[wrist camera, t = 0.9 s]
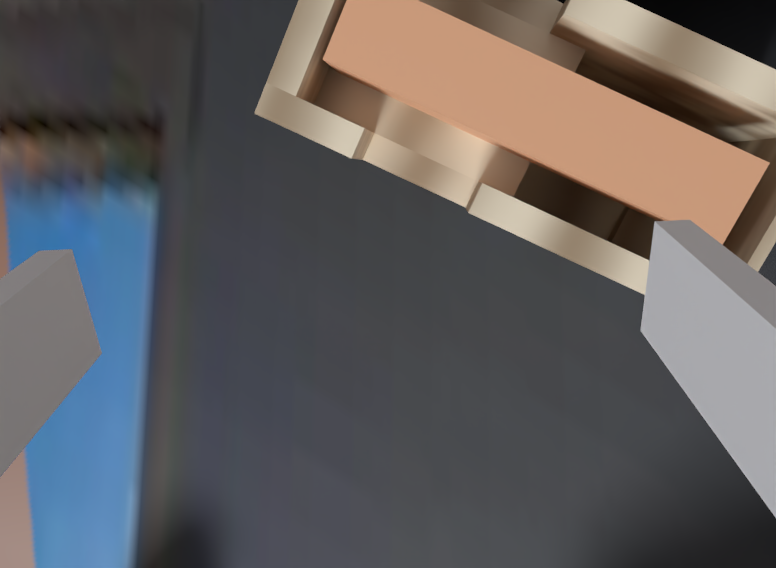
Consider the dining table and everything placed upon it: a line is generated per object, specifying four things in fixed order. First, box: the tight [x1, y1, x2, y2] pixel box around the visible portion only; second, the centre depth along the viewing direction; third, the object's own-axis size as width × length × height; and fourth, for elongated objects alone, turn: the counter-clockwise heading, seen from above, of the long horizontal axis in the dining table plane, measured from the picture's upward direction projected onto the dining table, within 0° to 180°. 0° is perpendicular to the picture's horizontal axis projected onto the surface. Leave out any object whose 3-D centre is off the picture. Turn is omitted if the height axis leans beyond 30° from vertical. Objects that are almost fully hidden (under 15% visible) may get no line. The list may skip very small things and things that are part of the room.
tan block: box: [323, 0, 770, 245], centre depth 30 cm, size 20×4×4 cm, turn 66°
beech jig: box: [255, 0, 776, 295], centre depth 34 cm, size 24×11×12 cm, turn 66°
